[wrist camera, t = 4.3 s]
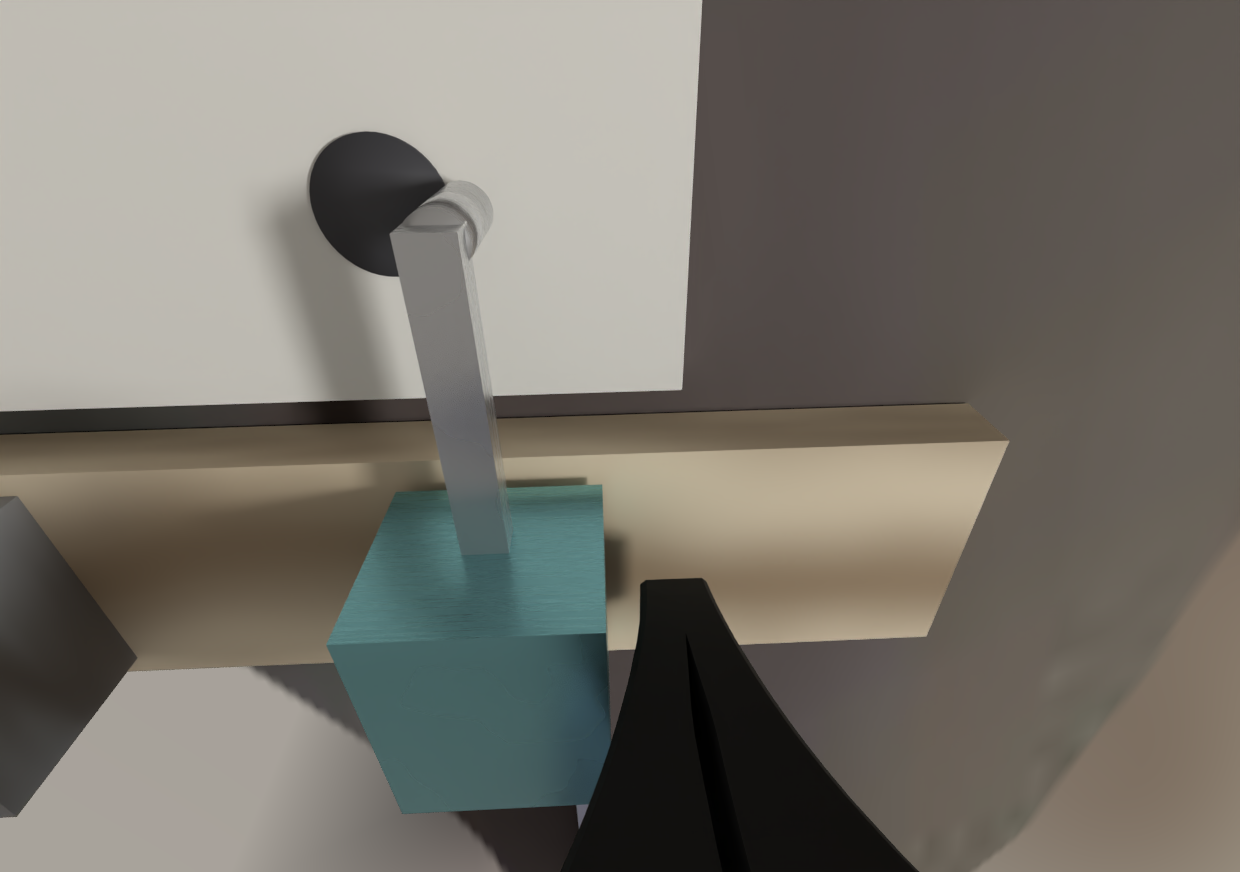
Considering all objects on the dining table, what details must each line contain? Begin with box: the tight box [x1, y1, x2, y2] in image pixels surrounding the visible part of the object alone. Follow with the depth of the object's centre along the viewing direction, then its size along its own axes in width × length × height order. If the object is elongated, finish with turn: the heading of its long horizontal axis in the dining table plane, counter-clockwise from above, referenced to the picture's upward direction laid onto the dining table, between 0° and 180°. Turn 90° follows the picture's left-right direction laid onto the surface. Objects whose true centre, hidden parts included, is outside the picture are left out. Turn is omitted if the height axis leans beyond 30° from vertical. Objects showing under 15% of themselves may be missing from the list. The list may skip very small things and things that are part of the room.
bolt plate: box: [0, 0, 702, 411], centre depth 9 cm, size 7×18×1 cm, turn 91°
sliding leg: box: [326, 180, 611, 814], centre depth 10 cm, size 10×4×4 cm, turn 1°
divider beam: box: [0, 403, 1009, 818], centre depth 11 cm, size 11×24×5 cm, turn 91°
